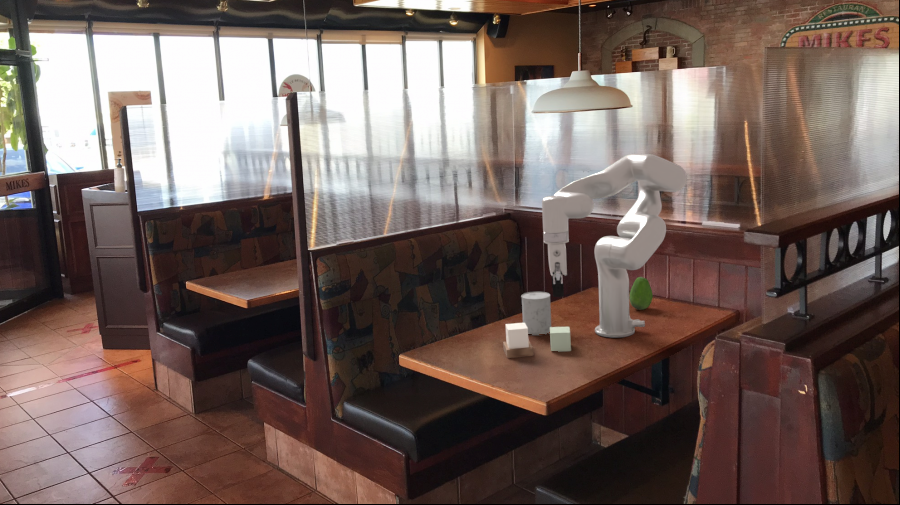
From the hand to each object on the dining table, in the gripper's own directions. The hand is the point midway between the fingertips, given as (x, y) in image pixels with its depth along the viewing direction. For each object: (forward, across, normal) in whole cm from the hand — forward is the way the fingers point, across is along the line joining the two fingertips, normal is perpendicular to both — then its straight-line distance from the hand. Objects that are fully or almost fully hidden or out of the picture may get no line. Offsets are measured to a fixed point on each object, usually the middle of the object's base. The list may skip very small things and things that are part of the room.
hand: (557, 292), depth 221 cm
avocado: (+18, +39, -30) cm, 53 cm away
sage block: (+18, 0, 0) cm, 18 cm away
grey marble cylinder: (+18, +18, +7) cm, 26 cm away
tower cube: (+15, -3, +13) cm, 20 cm away
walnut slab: (+18, -3, +13) cm, 23 cm away
